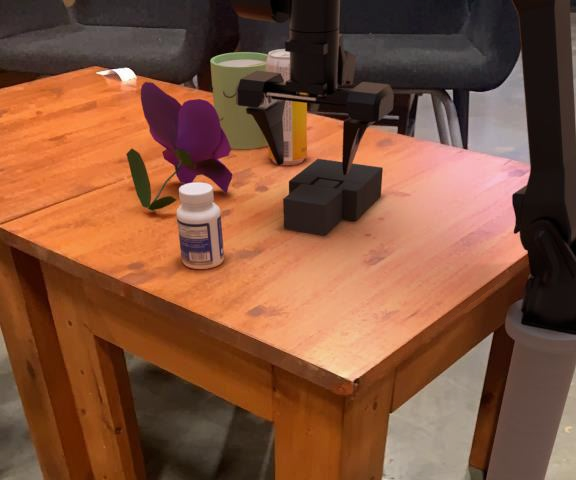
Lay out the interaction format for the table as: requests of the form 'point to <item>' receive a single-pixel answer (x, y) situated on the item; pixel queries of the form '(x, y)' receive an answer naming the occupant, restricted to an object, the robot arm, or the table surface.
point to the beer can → (290, 113)
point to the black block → (313, 207)
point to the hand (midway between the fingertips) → (312, 169)
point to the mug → (231, 116)
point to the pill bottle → (199, 227)
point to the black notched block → (345, 184)
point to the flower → (181, 143)
